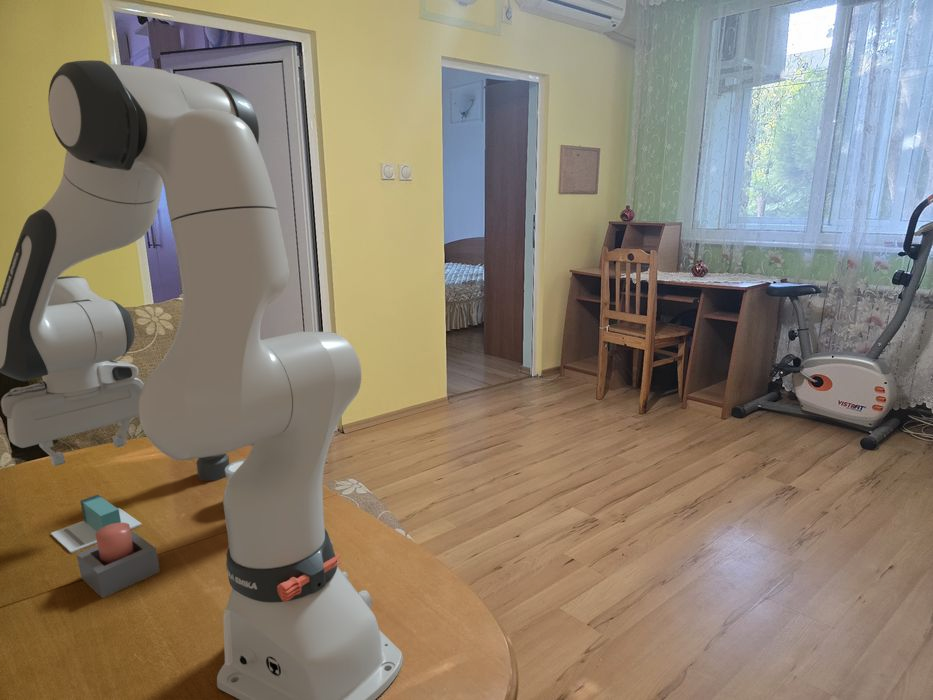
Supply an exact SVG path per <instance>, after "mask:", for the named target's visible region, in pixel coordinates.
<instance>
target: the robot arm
mask: <svg viewBox="0 0 933 700" xmlns="http://www.w3.org/2000/svg"><path fill="white" fill-rule="evenodd" d="M47 100H48V112H49V113H48V114H49V118H50V123H51V126H52V129H53V132H54V135H55V136H56V139H57V141H58V142H59V144H60V145H61V146H62V147H63V148H64V149H65V150H66V151H65V156H64V164H63V173H62V176H61V177H62V178H61V181H60V183H59V185H58V187H57V188H56V190H55V192H54V193H53V195H52V197H51V198H50V199H49V200H48V201H47V203H45V204H44V206H43V207H42V208H40V209H38V210H36V211H35V212H33V213H32V214H31V215H29V216H28V217H27V219H26V221H25V222H24V225H23V227H22V229H21V231H20V234H19V237H18V239H17V242H16V245H15V248H14V251H13V254H12V257H11V261H10V265H9V267H8V271H7V274H6V276H5V280H4V284H3V287H2V290H1V294H0V374H2V375H5V376H7V377H10V378H12V379H15V380H17V381H21V382H27V381H30V380H34V379H38V378H42V382H39V383H33V384H30V385H26V386H22V387H20V386H18V387H14V388H12V389H10V390H9V391H8V392H7V393H5V394H4V395H3V396H2V398H1V400H0V407H1V411H2V414H3V415H4V416H5V417H6V419H7V420H6V422H7V423H6V424H7V433H8V440H9V442H10V443H12V444H13V445H14V446H16V447H18V448H21V449H25V448H28V447H32V446H36V445H38V446H39V448H41V449H42V450H43V451H44V452H45V453H46V454H47V455H48V456H49V458H50V462H51V465H52V466H54V467H56V466H57V467H58V466H61V465H63V464H66V460H65V454H64V453H63V452H61V451H57V452H55V451H54V450H53V449H51V448H52V447H54V442H53V441H54V440H55V441H56V440H58V439H61V438H65V437H69V436H72V435H77V434H80V433H84V432H87V431H88V432H89V431H91V430H95V429H98V428H103V427H106V426H110V425H114V424H116V425H117V426H119V427H118V430H117V434H116V435H113V436H111V438H112V441H113V442H112V443H113V444H112V445H113V446H114V447H115V448H120V447H124V446H127V440H126V436H127V434H128V431H129V429H130V427H131V421H130V420H132V419H136V418H138V419H139V422H140V425H141V428H142V430H143V433H144V434H145V436H146V438H147V440H149V442H150V443H151V444H152V445H153V446H154V447H155V449H157V450H158V451H160V453H162V454H163V455H165V456H168V457H169V458H170V459H173V460H176V461H187V460H193V459H198V458H203V457H209V456H215V455H221V454H226V455H227V454H228V453H231V452H235V451H236V450H239V449H242V448H245V447H248V446H250V445H252V447H251V449H250V450H251V451H250V452H249V454H248V455H247V457H246V458H245V459H246V460H245V459H244V460H245V461H244V462H243V463H242V465H241V466H240V467H239V468H238V469H237V470H236V471H235V472H234V474H233V475H232V476H231V478H230V479H229V481H227V483H226V485H225V488H224V492H223V493H224V494H223V499H222V500H223V510H224V519H225V525H226V532H227V533H226V534H227V542H228V547H227V549H226V562H225V567H226V573H227V575H228V582H229V585H230V586H231V591H230V595H229V598H228V600H227V604H226V608H225V610H224V611H223V612H224V613H223V615H222V617H223V644H224V645H223V649H224V663H223V665H222V666H221V668H220V669H219V671H218V673H217V676H216V686H217V689H219V690H220V691H222V692H224V693H227V694H228V695H230V696H232V697H234V698H236V699H238V700H376V699H377V698H378V697H380V696H381V695H382V694H383V693H384V692H385V691H386V689H388V688H389V686H390V685H391V684H392V682H394V681H395V679H396V677H397V675H398V674H399V673H400V670H401V668H402V665H403V662H404V658H403V653H402V651H401V650H400V649H399V648H398V647H397V646H396V645H395V644H394V643H393V642H392V641H391V640H390V639H389V638H388V637H387V636H386V635H385V634H384V633H383V632H382V631H381V630H380V628H379V623H378V620H377V618H376V615H375V614H374V612H373V611H372V609H371V607H372V606H373V600H372V596H371V594H370V593H369V592H368V591H367V590H366V589H365V590H364V589H363V590H361V591H359V592H358V590H356V588H355V587H354V586H353V585H352V583H351V582H350V581H349V576H348V573H347V572H346V571H341V569H340V567H338V566H339V565H340V564H341V562H342V561H341V560H339V559H340V558H342V557H341V554H337V555H336V554H335V550H334V544H333V542H332V540H331V538H330V535H329V533H328V531H327V529H326V528H325V516H324V515H325V514H324V498H323V497H324V491H323V490H324V488H323V487H324V486H323V483H324V482H323V481H324V470H325V465H326V460H327V456H328V452H329V448H330V445H331V443H332V439H333V437H334V433H335V431H336V429H337V426H338V425H339V422H340V420H341V418H342V416H343V414H344V412H346V410H347V408H348V407H349V406H350V404H351V403H352V402H353V400H354V399H355V398H356V396H357V395H358V393H359V391H360V389H361V383H362V366H361V362H360V359H359V358H360V357H359V356H358V354H357V352H356V350H355V348H354V347H353V346H352V344H351V343H350V342H349V341H348V340H347V339H346V338H345V337H344V336H342V335H340V334H338V333H335V332H332V331H331V332H329V331H296V332H292V333H287V334H283V335H277V336H273V337H269V338H268V337H267V338H264V339H261V325H262V320H263V317H264V314H265V312H266V309H267V307H268V306H269V305H271V303H272V302H274V301H275V300H276V299H277V298H278V297H279V296H280V295H281V294H282V293H283V292H284V290H285V289H286V288H287V285H288V283H289V279H290V276H291V275H290V272H291V270H290V266H289V260H288V255H287V251H286V246H285V241H284V235H283V232H282V231H283V230H282V225H281V221H280V215H279V211H278V205H277V202H276V197H275V196H276V195H275V193H274V188H273V185H272V182H271V178H270V175H269V172H268V171H269V170H268V169H267V166H266V162H265V159H264V157H263V155H262V152H261V149H260V147H259V140H260V127H259V121H258V117H257V115H256V111H255V109H254V107H253V105H252V103H251V102H250V100H249V98H247V96H245V95H244V94H243V93H241V92H240V91H238V90H236V89H234V88H232V87H230V86H227V85H225V84H222V83H221V82H220V83H219V82H215V81H211V82H207V81H204V80H201V79H197V78H194V77H191V76H187V75H182V74H178V73H172V72H168V71H167V70H164V69H161V68H153V67H149V66H147V67H146V66H140V65H139V66H138V65H127V64H126V65H125V64H108V63H107V62H105V61H104V60H93V59H92V60H76V61H69V62H65V63H64V64H62V65H61V66H60V67H59V68H58V70H56V72H55V73H54V74H53V76H52V77H51V80H50V83H49V88H48V99H47ZM163 187H164V193H165V198H166V199H165V200H166V206H167V207H166V208H167V211H168V216H169V221H170V226H171V230H172V234H173V239H174V244H175V250H176V255H177V260H178V261H177V262H178V268H179V272H180V273H179V274H180V279H181V287H182V306H181V307H182V308H181V314H180V320H179V324H178V327H177V331H176V334H175V336H174V338H173V341H172V343H171V346H170V347H169V349H168V350H167V353H166V354H165V356H164V357H163V358H162V360H161V361H160V363H159V364H158V365H157V366H156V367H155V368H154V369H153V371H151V373H150V374H149V375H148V376H147V378H146V379H145V381H144V382H143V381H142V380H141V379H140V378H138V376H139V373H140V372H139V368H138V367H137V366H136V365H135V364H132V363H130V362H127V361H122V360H121V361H119V360H115V359H118V358H120V357H124V356H125V355H126V354H127V353H128V352H129V351H130V349H131V348H132V346H133V344H134V341H135V337H136V335H135V327H134V321H133V318H132V315H131V313H130V311H128V310H127V309H126V308H125V307H124V306H122V305H121V304H120V303H118V302H116V301H115V300H112V299H106V298H103V297H102V296H99V295H98V294H97V293H95V292H94V291H93V290H91V287H90V285H89V283H88V281H87V279H85V278H84V277H80V276H76V275H75V276H74V275H66V276H61V275H62V274H63V273H64V272H65V271H67V270H68V269H70V268H71V267H74V266H75V265H77V264H79V263H81V262H84V261H86V260H89V259H91V258H94V257H96V256H97V257H98V256H99V255H101V254H105V253H109V252H111V251H112V252H113V251H115V250H119V249H122V248H124V247H127V246H129V245H131V244H133V243H136V242H137V241H139V240H140V239H142V237H144V236H145V235H147V233H148V232H149V230H150V229H151V228H152V226H153V223H154V221H155V219H156V217H157V214H158V210H159V206H160V201H161V197H162V191H163ZM338 560H339V561H338Z"/></svg>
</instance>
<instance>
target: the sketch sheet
mask: <svg viewBox="0 0 933 700" xmlns="http://www.w3.org/2000/svg"><path fill="white" fill-rule="evenodd" d="M116 508H117V509H119V514H120V520H121V523H128V524H129V525H130V531H131V530H134V529H136V528H138V527H141V526H143V524H142V522H140V521H139V520H137V519H136V518H134V517H133V516H132V515H130V514H129V513H128V512H126V511H124V510H123V509H122V508H120V507H116ZM96 532H97V531H96V530H95V529H93V528H92V527H91V526H90V525H88V524H87V523H86V522H85V521H84V520H82V521H79V522H76V523H74V524H71V525H68V526H65V527H63V528H61V529H58V530H55V531H52V532H50V535H51V536H52V537H53V538H54V539H55V540H56V541H57V542H58V543H59V544H60V545H62V547H64V548H65V549H66V550H67V551H68V552H69V553H70V554H74V553H76V552H78V551H81V550H84V549H85V548H88V547H90V546H93V545H97V540H96Z"/></svg>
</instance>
